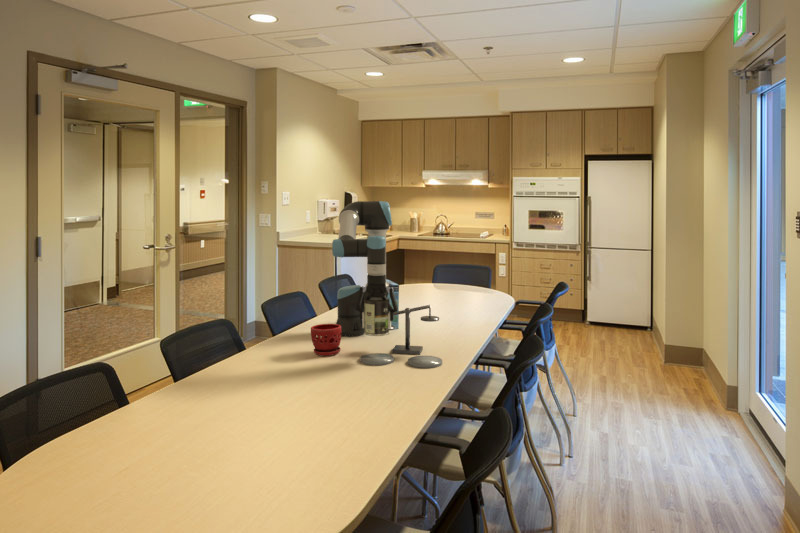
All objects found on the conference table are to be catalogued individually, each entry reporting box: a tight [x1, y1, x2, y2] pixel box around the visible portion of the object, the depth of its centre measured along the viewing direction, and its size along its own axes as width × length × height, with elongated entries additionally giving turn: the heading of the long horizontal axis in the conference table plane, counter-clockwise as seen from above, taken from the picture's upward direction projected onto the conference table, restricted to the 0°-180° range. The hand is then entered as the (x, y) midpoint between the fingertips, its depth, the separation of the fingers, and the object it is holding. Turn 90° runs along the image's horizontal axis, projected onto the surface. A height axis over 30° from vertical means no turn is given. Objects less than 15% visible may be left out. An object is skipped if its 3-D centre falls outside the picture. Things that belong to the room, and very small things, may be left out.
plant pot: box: [310, 323, 342, 357], centre depth 251 cm, size 13×13×12 cm
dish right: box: [407, 355, 443, 369], centre depth 237 cm, size 14×14×1 cm
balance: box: [389, 304, 440, 356], centre depth 253 cm, size 27×8×21 cm, turn 79°
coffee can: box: [364, 297, 390, 337], centre depth 239 cm, size 10×10×14 cm
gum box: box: [386, 278, 400, 330], centre depth 304 cm, size 20×5×23 cm, turn 18°
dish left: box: [359, 352, 395, 367], centre depth 241 cm, size 14×14×1 cm
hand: (376, 327), depth 239 cm, fingers closed on coffee can, 10 cm apart
